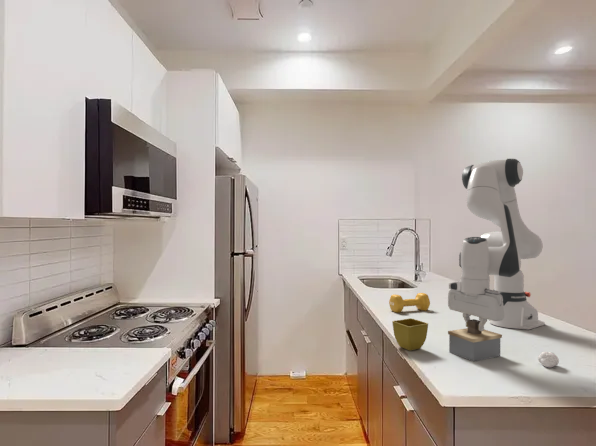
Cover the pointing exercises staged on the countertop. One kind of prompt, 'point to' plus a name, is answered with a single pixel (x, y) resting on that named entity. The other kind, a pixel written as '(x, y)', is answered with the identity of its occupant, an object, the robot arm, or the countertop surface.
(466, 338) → the lid
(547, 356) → the microfossil shell
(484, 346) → the box
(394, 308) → the dumbbell
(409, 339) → the flower pot
